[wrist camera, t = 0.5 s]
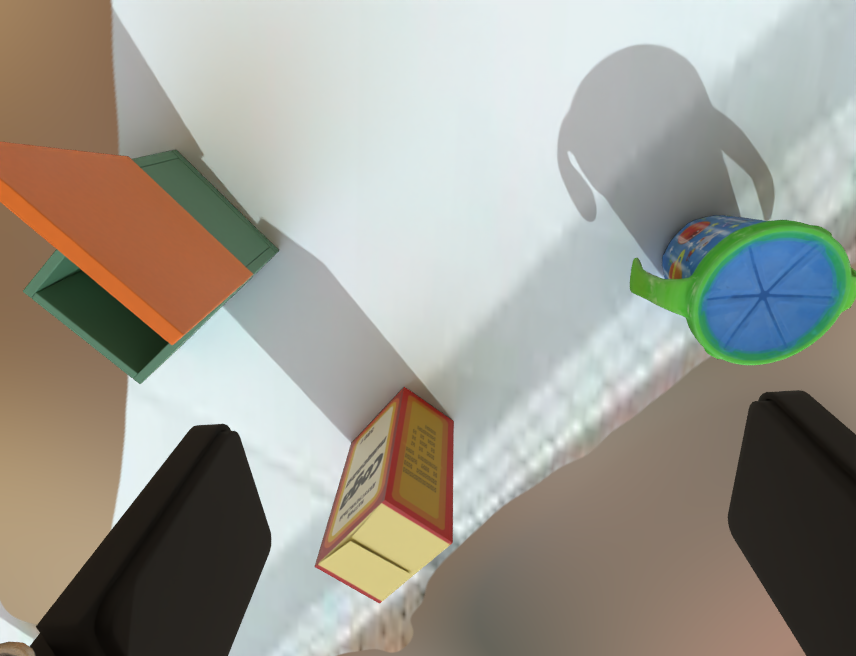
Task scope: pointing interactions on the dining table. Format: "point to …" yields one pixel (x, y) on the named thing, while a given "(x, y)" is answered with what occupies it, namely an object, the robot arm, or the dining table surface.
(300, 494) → the dining table surface
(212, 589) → the robot arm
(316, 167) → the dining table surface
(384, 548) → the baking soda box
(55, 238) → the lid
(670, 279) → the snack cup
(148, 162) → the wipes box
